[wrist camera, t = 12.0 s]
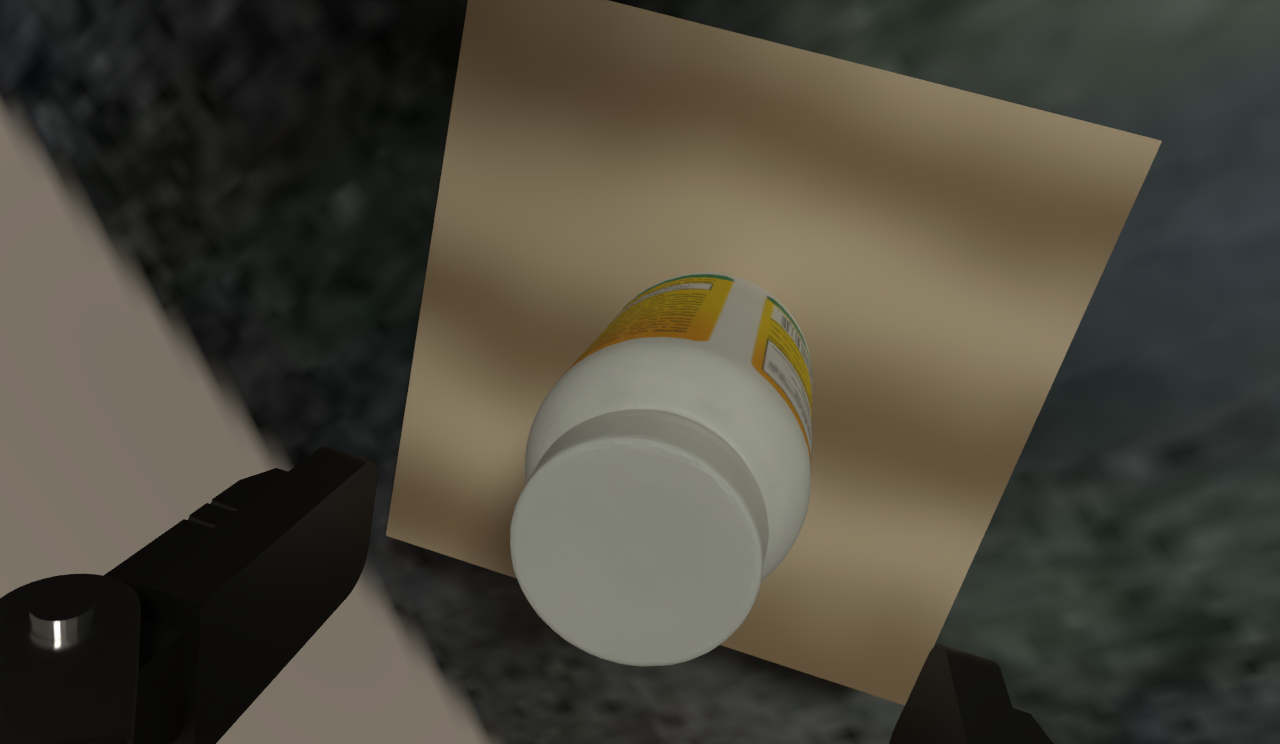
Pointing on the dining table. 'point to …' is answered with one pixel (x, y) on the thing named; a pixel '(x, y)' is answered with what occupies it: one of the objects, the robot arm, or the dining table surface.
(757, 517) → the supplement bottle
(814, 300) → the birch plinth
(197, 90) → the dining table surface
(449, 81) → the dining table surface
